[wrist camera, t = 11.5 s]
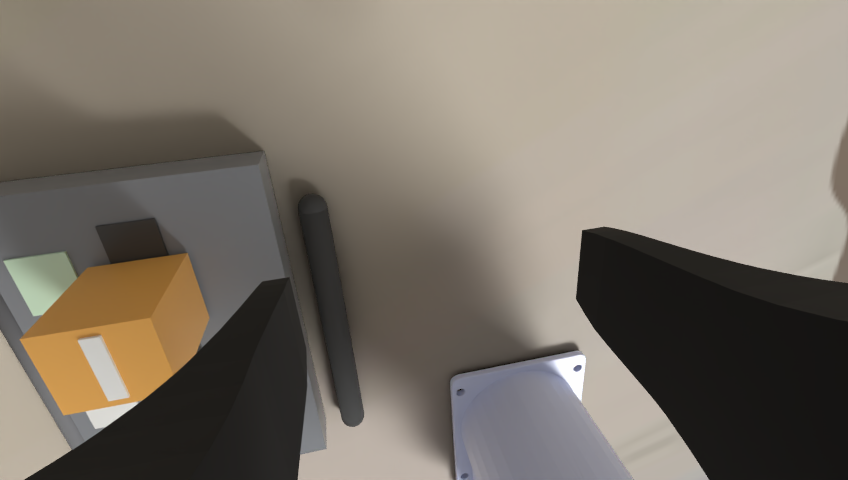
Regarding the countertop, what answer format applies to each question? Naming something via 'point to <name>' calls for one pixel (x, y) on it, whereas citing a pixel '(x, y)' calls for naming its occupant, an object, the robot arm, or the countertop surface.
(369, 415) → the countertop surface
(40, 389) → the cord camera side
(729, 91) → the countertop surface
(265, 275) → the breaker panel
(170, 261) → the knob
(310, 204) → the dark grey rod
